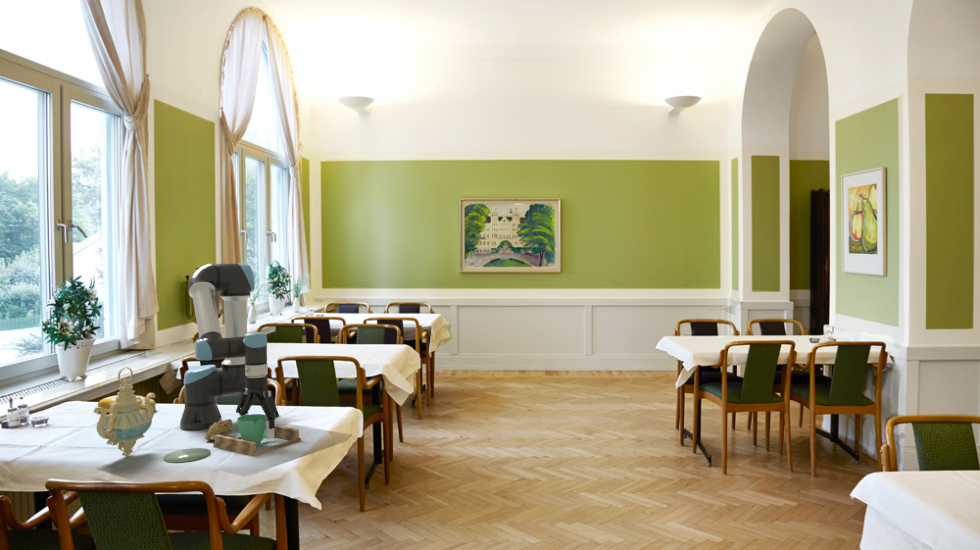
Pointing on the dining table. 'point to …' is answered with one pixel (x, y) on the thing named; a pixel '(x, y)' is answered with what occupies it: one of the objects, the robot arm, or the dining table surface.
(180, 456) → the coaster
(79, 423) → the dining table surface
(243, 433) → the mug
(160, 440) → the dining table surface
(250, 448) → the oak frame
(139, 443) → the dining table surface
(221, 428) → the seashell
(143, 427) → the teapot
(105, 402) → the bread
